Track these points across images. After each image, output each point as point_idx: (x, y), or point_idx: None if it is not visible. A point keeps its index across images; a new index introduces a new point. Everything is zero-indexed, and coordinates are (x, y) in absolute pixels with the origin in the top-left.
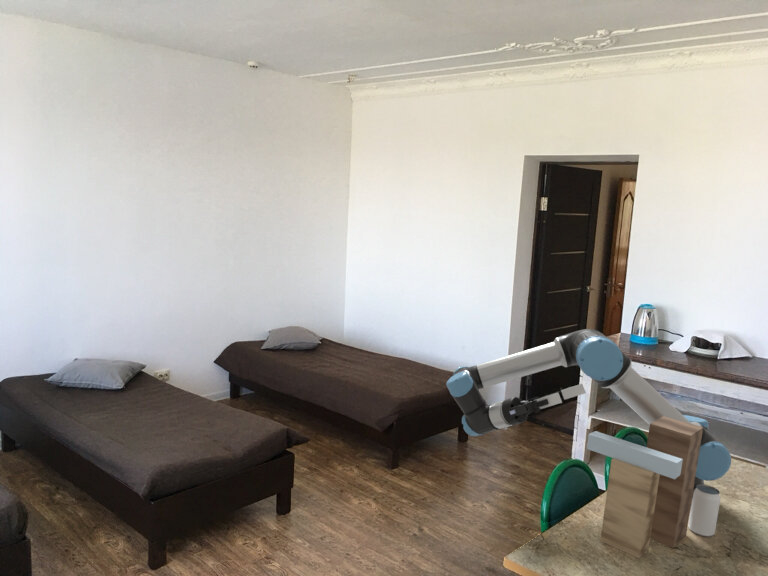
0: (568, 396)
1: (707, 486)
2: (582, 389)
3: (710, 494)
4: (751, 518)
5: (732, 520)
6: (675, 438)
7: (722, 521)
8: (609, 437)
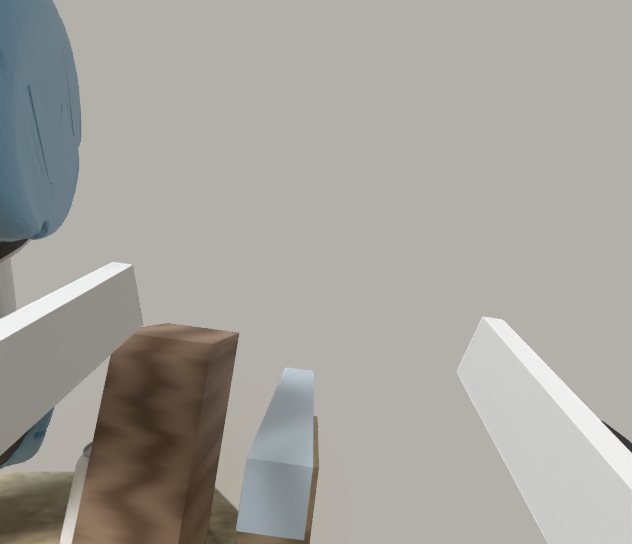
0: (6, 431)
1: (86, 448)
2: (135, 302)
3: None
4: (5, 481)
5: (19, 501)
6: (229, 350)
7: (27, 514)
8: (280, 426)
